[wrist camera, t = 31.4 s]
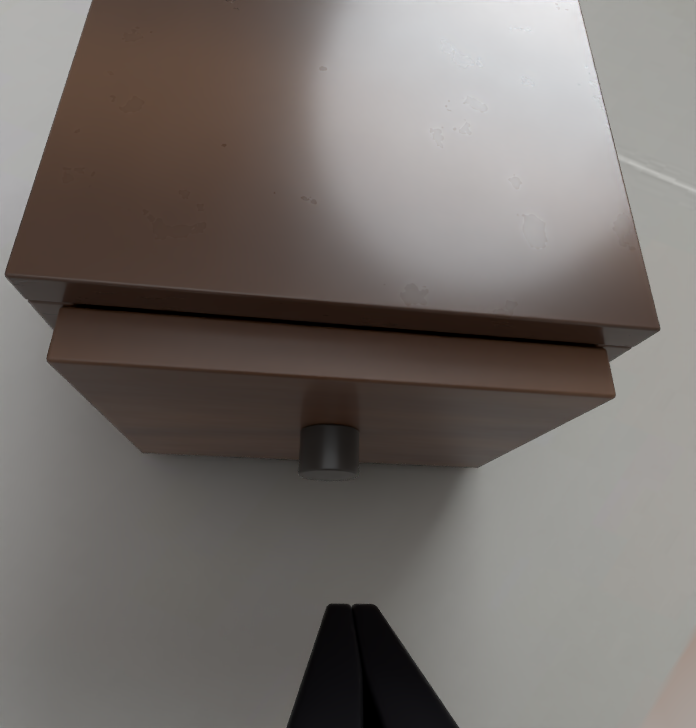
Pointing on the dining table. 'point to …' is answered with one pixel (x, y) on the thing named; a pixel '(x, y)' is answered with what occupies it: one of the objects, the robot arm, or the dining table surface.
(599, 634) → the dining table surface
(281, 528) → the dining table surface
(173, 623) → the dining table surface
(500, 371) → the drawer
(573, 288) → the cabinet
